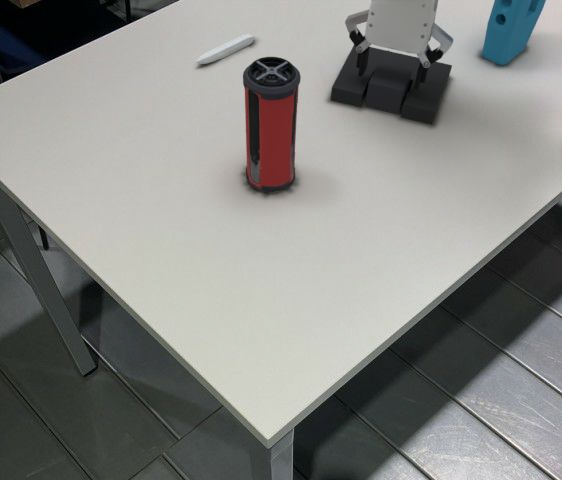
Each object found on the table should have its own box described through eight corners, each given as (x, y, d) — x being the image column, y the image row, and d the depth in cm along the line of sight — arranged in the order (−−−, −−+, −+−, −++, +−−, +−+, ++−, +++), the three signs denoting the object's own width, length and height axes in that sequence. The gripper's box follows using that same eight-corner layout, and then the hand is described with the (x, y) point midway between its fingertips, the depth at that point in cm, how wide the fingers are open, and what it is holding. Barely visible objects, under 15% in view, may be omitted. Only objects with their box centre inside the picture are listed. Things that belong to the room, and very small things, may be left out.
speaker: (235, 176, 97) (230, 68, 82) (271, 154, 100) (272, 45, 85) (270, 202, 94) (271, 95, 79) (305, 178, 97) (313, 70, 82)
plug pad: (406, 94, 109) (412, 70, 105) (398, 114, 106) (403, 90, 102) (374, 86, 110) (377, 62, 106) (364, 106, 107) (368, 82, 103)
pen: (193, 66, 112) (192, 58, 110) (252, 38, 117) (251, 29, 115) (198, 70, 111) (198, 62, 110) (257, 41, 116) (257, 33, 115)
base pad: (448, 78, 112) (452, 65, 110) (431, 124, 105) (435, 111, 103) (352, 56, 114) (354, 43, 112) (330, 100, 108) (331, 87, 105)
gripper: (473, -32, 90) (444, 77, 105) (359, -55, 93) (347, 55, 108) (464, -7, 87) (435, 103, 101) (345, -31, 89) (334, 79, 104)
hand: (389, 78), depth 104 cm, fingers open, 9 cm apart
